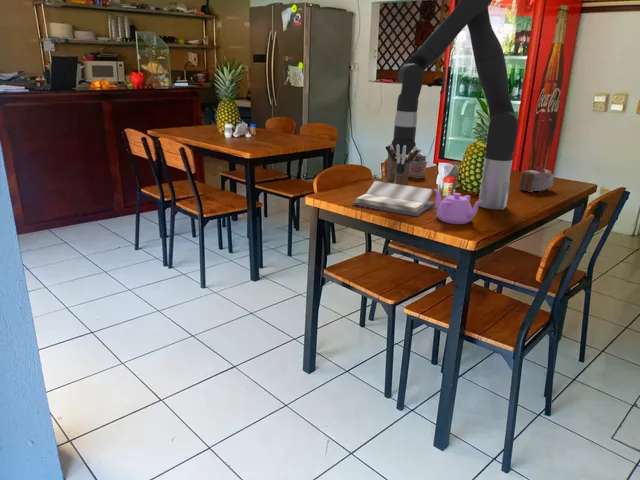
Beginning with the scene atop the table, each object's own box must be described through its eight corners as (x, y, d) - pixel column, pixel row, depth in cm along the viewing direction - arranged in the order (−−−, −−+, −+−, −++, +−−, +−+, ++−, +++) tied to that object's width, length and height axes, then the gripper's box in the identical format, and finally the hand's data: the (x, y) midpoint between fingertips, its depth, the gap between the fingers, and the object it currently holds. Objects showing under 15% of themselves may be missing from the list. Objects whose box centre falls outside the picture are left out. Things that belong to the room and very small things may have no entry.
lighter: (407, 177, 222) (409, 155, 218) (407, 176, 225) (409, 154, 222) (425, 179, 221) (427, 156, 217) (425, 177, 224) (427, 155, 220)
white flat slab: (423, 207, 172) (424, 202, 171) (416, 212, 165) (416, 208, 165) (365, 197, 182) (365, 193, 181) (356, 202, 175) (356, 198, 175)
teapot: (431, 213, 168) (434, 188, 165) (473, 216, 167) (476, 190, 164) (435, 224, 157) (438, 196, 154) (480, 226, 156) (484, 199, 153)
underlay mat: (434, 204, 179) (434, 201, 179) (417, 216, 164) (418, 213, 164) (373, 194, 190) (373, 192, 190) (352, 205, 175) (352, 202, 175)
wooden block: (399, 195, 191) (403, 148, 185) (383, 189, 200) (386, 143, 194) (407, 194, 193) (411, 147, 187) (390, 188, 201) (394, 143, 195)
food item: (536, 186, 213) (540, 163, 210) (553, 190, 207) (557, 167, 204) (516, 190, 206) (520, 166, 202) (533, 194, 199) (538, 170, 196)
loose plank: (432, 192, 177) (432, 189, 176) (424, 206, 172) (424, 202, 171) (375, 184, 187) (374, 180, 186) (366, 196, 182) (366, 193, 182)
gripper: (427, 125, 173) (421, 174, 178) (391, 121, 179) (387, 169, 184) (420, 127, 166) (414, 178, 172) (383, 123, 172) (379, 173, 178)
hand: (400, 173), depth 178 cm, fingers closed
